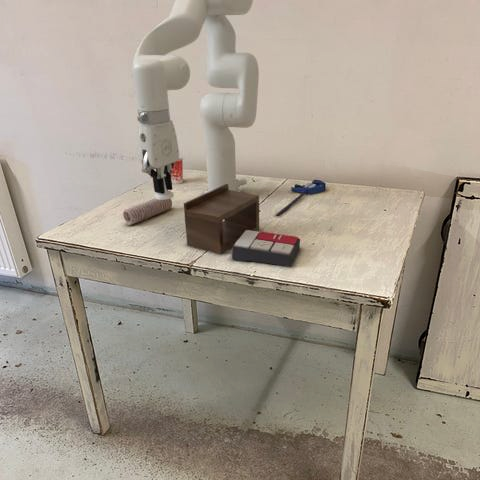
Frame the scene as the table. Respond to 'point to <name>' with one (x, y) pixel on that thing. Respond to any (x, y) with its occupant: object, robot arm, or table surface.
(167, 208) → the coil
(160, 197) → the chess piece
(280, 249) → the grey and red box
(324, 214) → the table surface
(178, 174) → the beverage cup
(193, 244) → the brown wooden cabinet
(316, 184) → the bar clamp
